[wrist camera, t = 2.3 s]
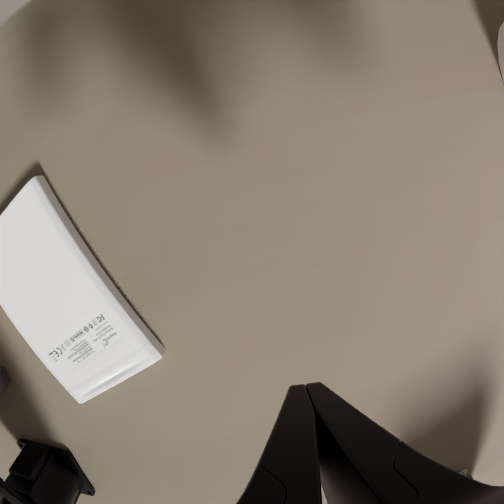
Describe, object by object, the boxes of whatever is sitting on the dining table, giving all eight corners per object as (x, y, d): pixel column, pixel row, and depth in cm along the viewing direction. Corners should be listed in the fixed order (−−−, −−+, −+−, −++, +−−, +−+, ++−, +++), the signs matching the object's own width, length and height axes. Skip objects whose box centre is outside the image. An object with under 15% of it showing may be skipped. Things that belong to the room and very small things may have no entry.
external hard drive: (48, 174, 16) (168, 345, 18) (-16, 251, 17) (86, 393, 19) (32, 175, 14) (162, 360, 17) (-31, 257, 15) (77, 407, 17)
